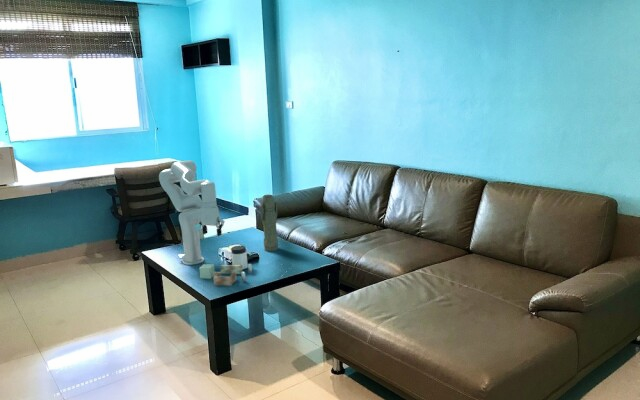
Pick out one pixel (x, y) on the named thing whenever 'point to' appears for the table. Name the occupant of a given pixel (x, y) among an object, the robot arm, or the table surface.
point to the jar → (239, 256)
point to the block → (207, 271)
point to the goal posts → (248, 271)
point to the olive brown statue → (269, 222)
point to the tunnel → (227, 270)
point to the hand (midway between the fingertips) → (212, 234)
